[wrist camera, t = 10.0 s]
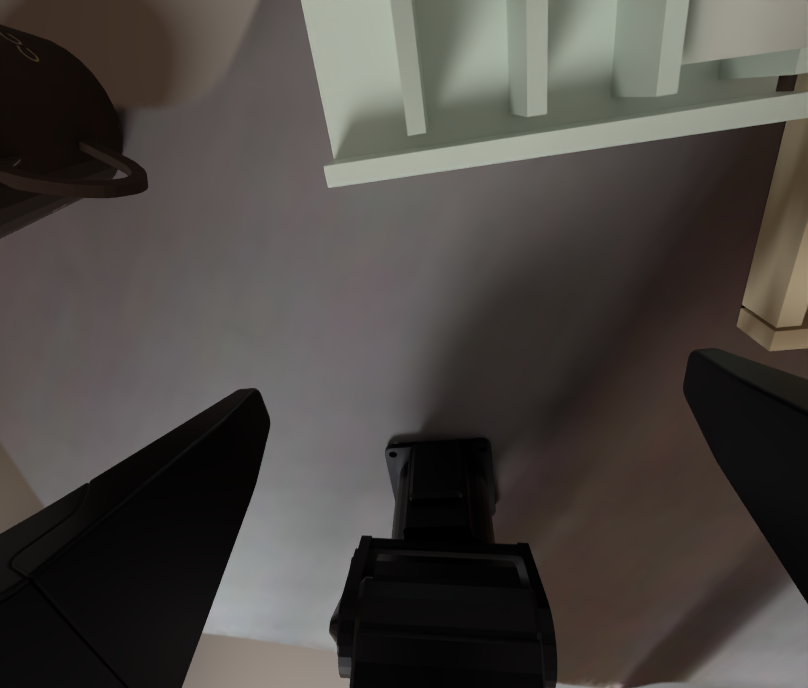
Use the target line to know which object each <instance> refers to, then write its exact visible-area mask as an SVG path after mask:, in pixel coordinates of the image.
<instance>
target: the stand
mask: <svg viewBox="0 0 808 688" xmlns="http://www.w3.org/2000/svg"><path fill="white" fill-rule="evenodd" d="M794 91H808V73H802V74H798V76H797V80H796V84H795V88H794ZM742 305H743V306H745V307H746V308H741V310H740V314H739V318H738V322H737V327H738V328H740V329H741V330H742V331H744V332H745V333H746V334H747V335H749V336H750V337H751V338H753V339H754V340H755V341H757V342H758V343H759V344H761V345H762V346H763V347H764V348H766V349H767V350H768V351H777V350H789V349H801V348H808V118H803V119H796V120H790V121H786V125H785V129H784V133H783V137H782V141H781V145H780V150H779V154H778V158H777V162H776V166H775V170H774V174H773V178H772V182H771V187H770V191H769V195H768V199H767V203H766V207H765V211H764V215H763V219H762V224H761V228H760V232H759V236H758V240H757V244H756V248H755V252H754V256H753V261H752V265H751V269H750V273H749V277H748V281H747V285H746V289H745V293H744V298H743V302H742Z"/></svg>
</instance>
